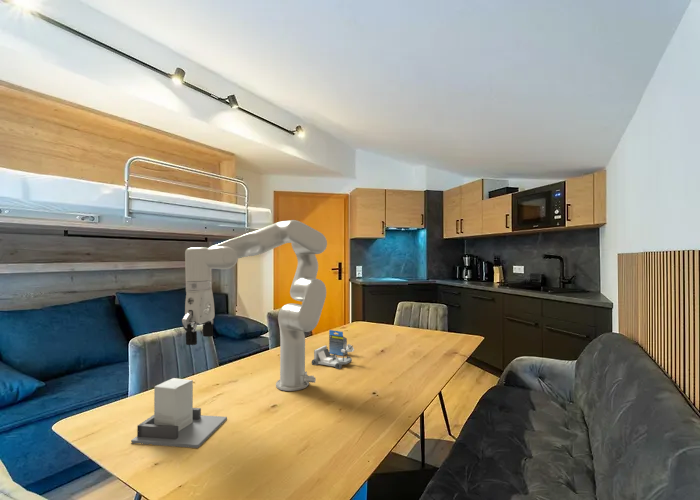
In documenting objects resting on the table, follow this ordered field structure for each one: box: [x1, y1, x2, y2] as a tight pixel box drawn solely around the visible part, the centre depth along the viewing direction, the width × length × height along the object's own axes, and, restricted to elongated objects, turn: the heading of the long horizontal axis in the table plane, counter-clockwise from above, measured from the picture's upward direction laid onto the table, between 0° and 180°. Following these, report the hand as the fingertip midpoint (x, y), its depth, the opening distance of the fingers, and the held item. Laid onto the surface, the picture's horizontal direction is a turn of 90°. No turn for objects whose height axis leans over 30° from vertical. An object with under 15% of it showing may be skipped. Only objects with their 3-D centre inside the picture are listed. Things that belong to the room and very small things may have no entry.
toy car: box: [311, 343, 355, 370], centre depth 162 cm, size 18×10×12 cm
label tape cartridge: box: [328, 329, 348, 357], centre depth 178 cm, size 9×4×12 cm, turn 58°
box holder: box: [130, 407, 228, 449], centre depth 99 cm, size 19×16×4 cm
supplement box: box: [153, 377, 194, 432], centre depth 100 cm, size 7×7×13 cm
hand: (200, 340), depth 109 cm, fingers open, 9 cm apart
